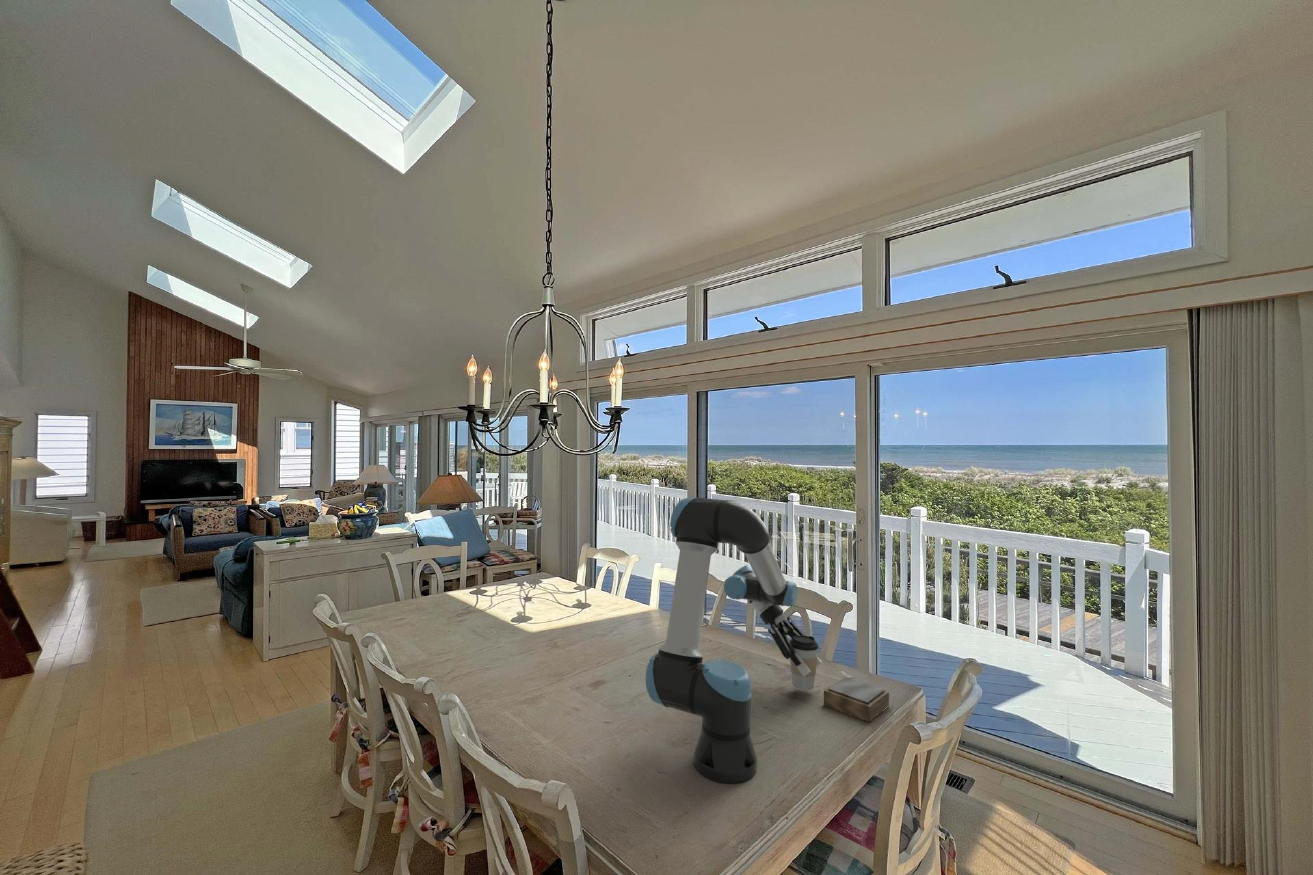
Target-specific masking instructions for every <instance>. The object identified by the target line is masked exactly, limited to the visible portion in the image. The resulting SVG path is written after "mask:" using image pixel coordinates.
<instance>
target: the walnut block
mask: <svg viewBox="0 0 1313 875" xmlns="http://www.w3.org/2000/svg"><path fill="white" fill-rule="evenodd" d="M823 706H826V707H828V708H831V709H833V708H834V710H835V709H836V711H838V710H840V711H839V712H841V713H843V712H845V713H844V714H846V713H847V715H849V714H851V715H853V716H852V717H854V716H856V717H858V718H857V719H859V718H860V719H859V720H862V719H864V720H866V721H865V722H867V721H871V720H872V719H873V718H874V717H875V716H877V714H879V713H880V712H881V711H882V710H884V709H885V708H886V707H887V706H889V707H890V692H889V691H888V690H885V689H883V688H880V687H877V686H874V685H873V684H872V685H871V684H869V683H865V682H861V681H859V680H856V679H853V678H850V677H847V676H846V677H843V678H841V679H840V680H838V681H837V682H835V683H833V684H831V685H830V686H828V687H827V688H825V689H824V690H823ZM886 709H887V708H886ZM886 709H885V710H886ZM885 710H884V711H885ZM880 714H881V713H880ZM880 714H879V715H880ZM851 715H850V716H851ZM856 717H855V718H856ZM877 717H878V716H877ZM875 718H876V717H875ZM875 718H874V719H875ZM874 719H873V720H874ZM864 720H863V721H864ZM873 720H872V721H873ZM872 721H871V722H872Z"/></svg>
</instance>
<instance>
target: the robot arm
mask: <svg viewBox="0 0 1313 875" xmlns="http://www.w3.org/2000/svg"><path fill="white" fill-rule="evenodd" d="M669 526H670V533H671V536H673V538H675V545H676V546H677V547H678V549H679V555H678V561H677V568H676V572H675V581H674V588H673V593H672V594H673V595H672V601H671V605H670V606H671V607H670V613H669V620H668V625H667V631H666V638H665V642H664V643H663V644H662V645H660V646H659V647H658V652H656V653H655V654H653V655H652V656H651V657H650V659H649V662H648V663H647V666H646V670H645V687H646V688H645V689H646V692H647V694H648V696H649V697H650V699H651V700H652V701H653V702H655V703H657V704H659V705H662V706H664V707H665V708H671V709H675V710H678V711H682V712H685V713H687V714H691V715H696V716H698V717H701V731H700V734H699V737H698V740H697V743H696V745H695V748H694V752H693V753H694V754H693V764H694V767H695V769H696V771H697V772H698V773H699V774H700V775H701V776H703V777H705V778H706V779H708V780H711V781H714V782H717V783H722V784H723V783H724V784H738V783H743V782H746V781H748V780H750V779H751V778H753V777H754V775H756V773H757V770H758V769H757V768H758V764H757V763H758V758H757V754H756V751H755V750H756V749H755V746H754V743H753V740H752V736H751V708H752V707H751V706H752V705H751V704H752V702H751V701H752V687H751V682H752V681H751V677H750V674H749V673H748V672H747V671H746V669H745V668H744V667H743V666H741V665H739V664H737V663H735V662H733V661H731V660H726V659H716V658H715V659H710V660H707V661H706V662H705V663H704V664H703V658H704V655H703V653H702V652H701V650H700V649H699V645H700V638H701V629H702V623H703V616H704V615H703V614H704V608H705V601H706V594H707V588H708V587H707V586H708V579H709V572H710V567H711V566H710V565H711V560H712V559H711V558H712V555H714V553H716V552H717V551H718V547H719V544H729V545H730V544H731V545H733V546H736V547H737V549H738V550H739V551H740V552H741V553H743V554H744V556H745V557H746V560H747V561H748V563H749V565H744V566H741V567H739V569H737V570H735V571H734V573H733V574H732V575H731V576H729V577H727V578H726V579H725V581H724V583H723V590H724V593H725V595H726V596H727V597H728V598H729V599H732V600H747V601H748V603H749V604H750V605H751V606H752V608H753V610H754V611H755V612H756V613H757V614H758V615H759V617H760V619H761V621H762V622H763V623H764V624H765V625H769V627H768V628H767V632H768V633H769V634H770V636H771V637H772V639H773V640H774V642H775V644H776V645H777V647H778V649H779V650H780V652H781V654H782V656H783V657H784V658H785V659H786V660H790V659H791V660H792V661H793V663H794V664H795V665H796V667H797V668H798V669H799V671H800V672H801V674H802V675H803V676H806V675H807V674H808V673H810V672H811V671H810V670H809V668H808V667H807V665H806V664H805V663H804V661H803V660H802V659H801V657H800V656H799V655H798V653H796V654H795V652H794V649H793V647H792V645H791V643H790V639H793V637H794V636H797V635H803V636H807V634H805V633H804V632H803V630H801V629H800V628H799V627H798V625H797V624H796V623H795V622H794V621H793V619H792V618H791V617H790V616H787V617H786V618H785V617H784V616H783V613H784V610H783V608H782V607H794V605H795V604H796V602H797V597H798V587H797V584H796V582H793V581H789V580H786V579H785V577H784V574H783V572H782V570H781V567H780V565H779V563H778V561H777V558H776V556H775V553H774V551H773V549H772V546H771V544H770V540H771V538H770V537H771V536H770V532H769V529H768V528H767V526H766V524H765V523H764V521H763V520H762V519H761V518H760V516H759V515H758V514H757V513H755V511H753V510H752V509H751V508H750V507H748V506H747V505H745V504H743V503H741V502H738V501H736V500H731V499H726V500H725V499H718V498H717V499H716V498H707V497H705V498H704V497H699V496H698V497H685V498H682V499H681V500H679V502H678V503H677V504H676V505H675V506H674V508H673V510H672V513H671V516H670V523H669ZM789 637H790V638H789ZM822 663H823V662H822V660H821V659H820V658H819V656H818V657H817V666H816V667H818V666H819V665H821V664H822Z"/></svg>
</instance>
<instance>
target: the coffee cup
mask: <svg viewBox="0 0 1313 875" xmlns="http://www.w3.org/2000/svg"><path fill="white" fill-rule="evenodd" d="M789 641H790V643H791V645H792V647H793V649H794V652H795V654H796V653H798V655H799V656H800V657H801V659H802V660H803V661H804V663H805V664H806V665H807V667H808V668H809V670H810V671H811V672H810V673H808V674H807V675H806V676H803V675H802V674H801V672H800V671H799V669H798V668H797V667H796V665H795V664H794V663H793V661H792V660H791V659H790V658H789V660H790V672H791V685H792V686H793V687H794V688H796V689H798V690H804V691H809V690H813V689H814V687H815V680H816V674H817V667H818V666H817V657H818V658H819V656H818V650H819V648H820V647H819V644H818V642H817V641H816V640H815V637H813V636H811V635H806V636H803V635H797V636H794V637H793V639H792V638H790V639H789Z"/></svg>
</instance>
